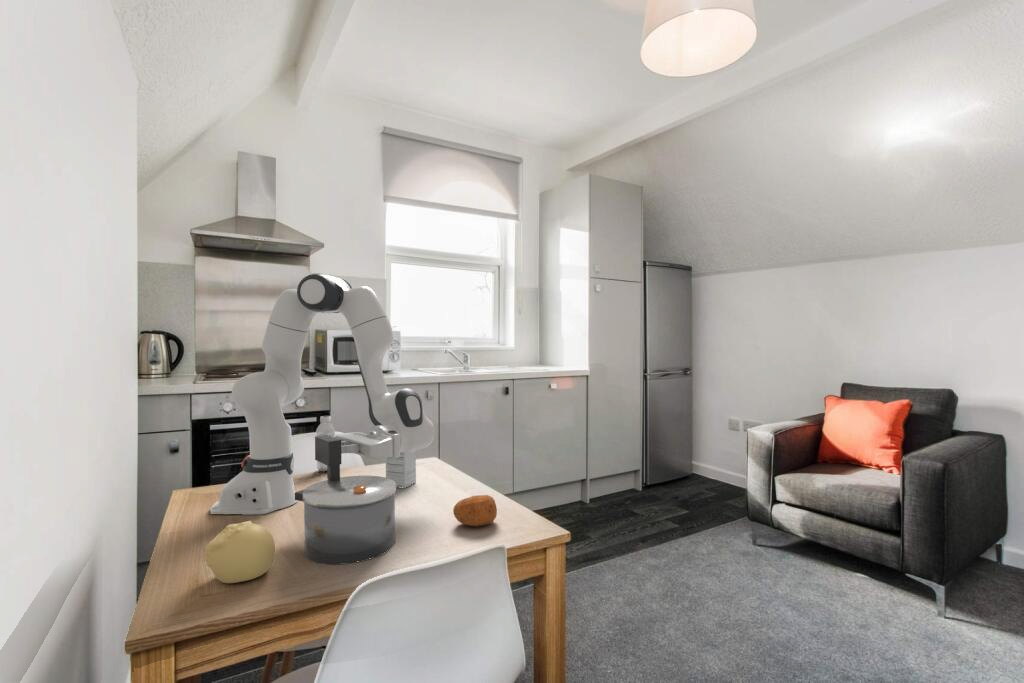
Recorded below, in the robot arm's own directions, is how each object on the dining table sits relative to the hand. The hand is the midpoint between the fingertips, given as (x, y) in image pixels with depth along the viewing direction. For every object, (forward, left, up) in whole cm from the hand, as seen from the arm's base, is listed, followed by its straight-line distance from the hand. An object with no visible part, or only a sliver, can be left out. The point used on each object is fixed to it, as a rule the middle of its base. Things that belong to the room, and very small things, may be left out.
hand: (334, 449), depth 127 cm
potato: (+35, -7, -20) cm, 41 cm away
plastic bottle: (-11, +58, -20) cm, 63 cm away
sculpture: (-15, -24, -20) cm, 34 cm away
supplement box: (+16, +34, -20) cm, 43 cm away
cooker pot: (+2, -10, -20) cm, 23 cm away
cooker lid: (+3, -9, -8) cm, 13 cm away
